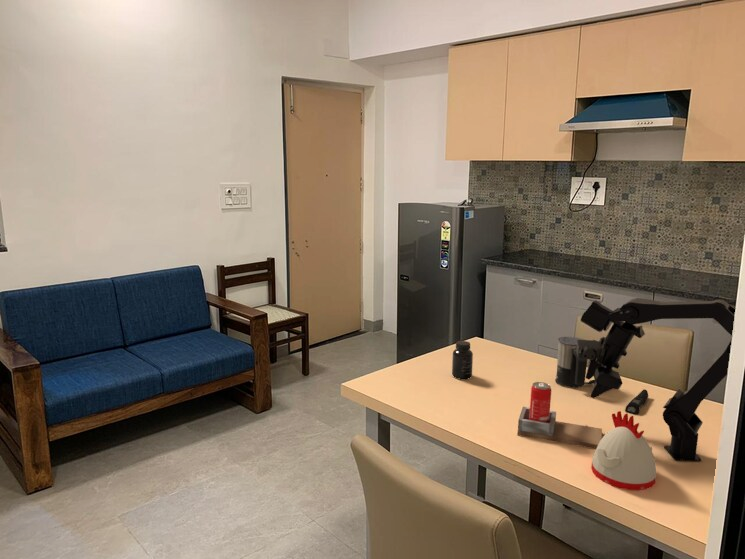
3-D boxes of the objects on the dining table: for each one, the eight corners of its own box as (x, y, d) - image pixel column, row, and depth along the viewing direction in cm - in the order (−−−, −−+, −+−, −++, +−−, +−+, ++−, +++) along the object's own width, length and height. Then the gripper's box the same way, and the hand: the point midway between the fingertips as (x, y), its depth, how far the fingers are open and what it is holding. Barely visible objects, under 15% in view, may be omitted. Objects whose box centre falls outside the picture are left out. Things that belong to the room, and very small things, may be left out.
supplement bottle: (448, 374, 195) (449, 341, 193) (464, 371, 198) (465, 338, 196) (459, 381, 189) (460, 347, 187) (476, 378, 192) (477, 344, 190)
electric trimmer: (651, 400, 176) (652, 390, 175) (637, 416, 164) (638, 406, 164) (638, 396, 178) (639, 387, 178) (623, 412, 166) (624, 402, 166)
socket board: (601, 432, 154) (602, 418, 153) (601, 449, 145) (602, 434, 144) (522, 419, 161) (523, 405, 160) (517, 435, 152) (518, 420, 151)
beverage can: (530, 430, 152) (533, 388, 150) (527, 421, 157) (529, 381, 155) (550, 431, 152) (553, 389, 149) (546, 422, 157) (549, 382, 154)
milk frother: (548, 379, 191) (551, 337, 188) (586, 373, 196) (590, 332, 193) (577, 395, 178) (581, 350, 175) (617, 389, 183) (621, 345, 180)
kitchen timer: (618, 453, 143) (623, 398, 140) (668, 480, 131) (675, 420, 128) (578, 467, 136) (583, 409, 133) (628, 496, 125) (634, 434, 121)
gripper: (582, 315, 157) (558, 359, 164) (592, 348, 140) (564, 396, 147) (621, 329, 156) (595, 373, 163) (635, 364, 140) (606, 412, 146)
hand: (589, 387), depth 155 cm, fingers open, 9 cm apart
